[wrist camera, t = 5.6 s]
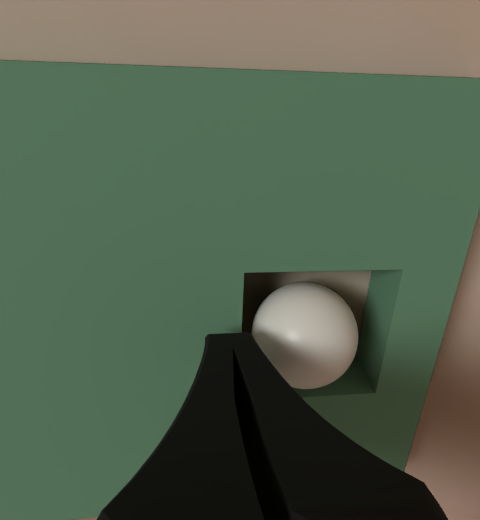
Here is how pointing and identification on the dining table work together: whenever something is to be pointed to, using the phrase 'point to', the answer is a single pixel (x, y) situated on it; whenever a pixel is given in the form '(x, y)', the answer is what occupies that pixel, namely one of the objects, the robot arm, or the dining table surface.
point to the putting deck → (211, 249)
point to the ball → (306, 334)
